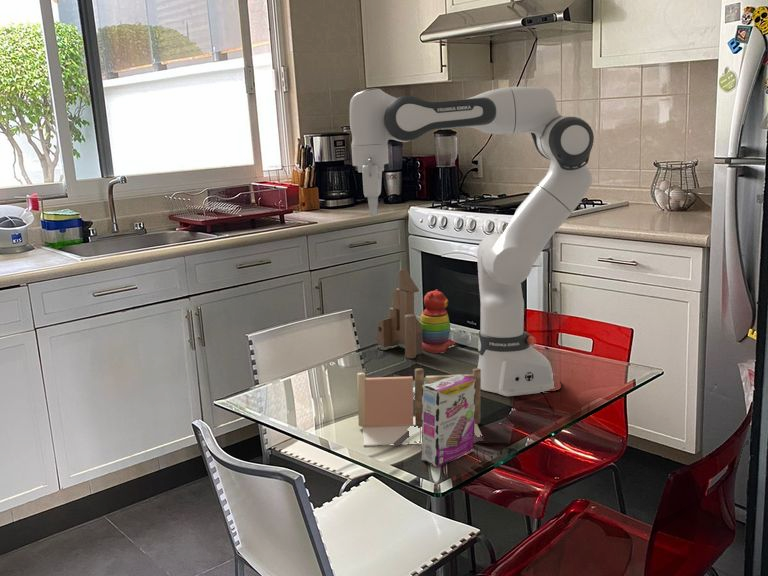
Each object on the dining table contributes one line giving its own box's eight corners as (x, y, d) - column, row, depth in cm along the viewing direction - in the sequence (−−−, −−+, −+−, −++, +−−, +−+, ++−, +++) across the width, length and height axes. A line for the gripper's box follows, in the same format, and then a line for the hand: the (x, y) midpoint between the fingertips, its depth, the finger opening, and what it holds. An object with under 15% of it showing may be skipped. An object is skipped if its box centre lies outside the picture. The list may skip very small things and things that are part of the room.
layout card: (472, 415, 180) (472, 414, 180) (485, 443, 165) (485, 441, 165) (362, 420, 179) (362, 418, 179) (364, 448, 164) (364, 446, 164)
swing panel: (412, 421, 176) (412, 370, 173) (413, 424, 174) (412, 373, 171) (358, 423, 175) (357, 372, 172) (358, 426, 173) (357, 375, 171)
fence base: (479, 422, 177) (480, 366, 174) (481, 425, 175) (481, 369, 172) (414, 424, 176) (414, 368, 173) (415, 428, 174) (415, 371, 171)
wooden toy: (375, 348, 235) (373, 268, 230) (391, 344, 239) (390, 265, 234) (410, 359, 224) (409, 275, 218) (426, 354, 228) (426, 272, 223)
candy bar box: (437, 469, 153) (437, 391, 150) (420, 461, 157) (420, 384, 154) (476, 452, 161) (476, 378, 157) (458, 445, 164) (459, 372, 161)
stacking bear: (442, 354, 228) (442, 296, 224) (412, 350, 233) (412, 292, 229) (458, 345, 237) (458, 289, 233) (429, 341, 242) (429, 286, 238)
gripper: (382, 155, 176) (386, 216, 178) (383, 157, 197) (387, 212, 199) (355, 157, 177) (359, 217, 179) (359, 159, 197) (362, 213, 199)
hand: (374, 214), depth 189 cm, fingers open, 8 cm apart
